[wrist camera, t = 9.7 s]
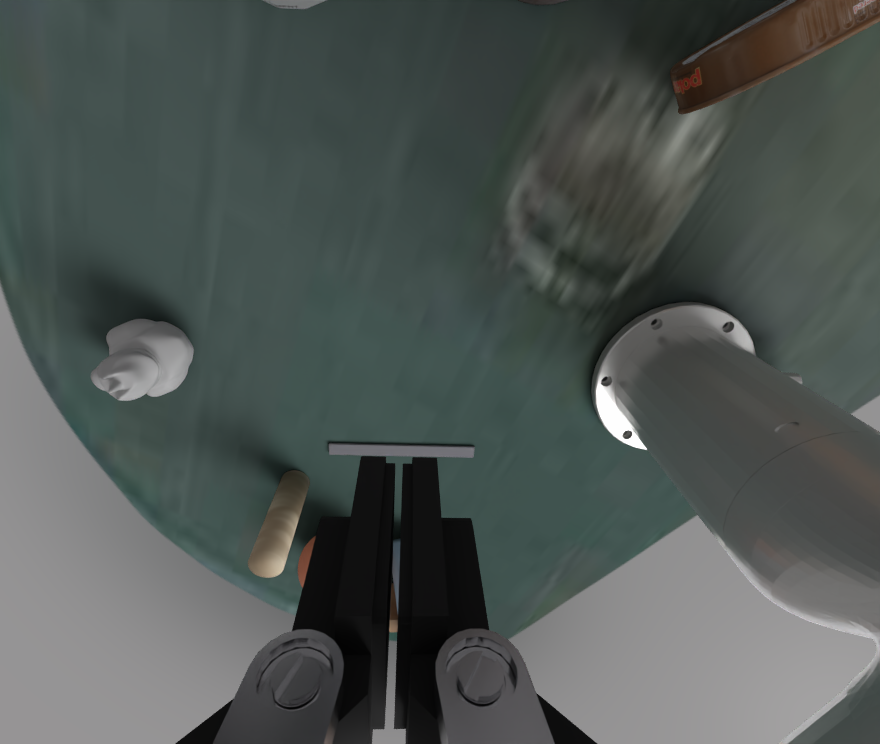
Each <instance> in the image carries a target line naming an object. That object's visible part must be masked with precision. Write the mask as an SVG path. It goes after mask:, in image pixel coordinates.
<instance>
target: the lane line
mask: <svg viewBox="0 0 880 744" xmlns="http://www.w3.org/2000/svg"><path fill="white" fill-rule="evenodd" d="M329 455H375V456H424V457H472V458H473V457H474V446H441V445H396V444H351V443H329Z"/></svg>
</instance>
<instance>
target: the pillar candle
mask: <svg viewBox="0 0 880 744" xmlns="http://www.w3.org/2000/svg"><path fill="white" fill-rule="evenodd" d="M518 1H521V2H524V3H529V4H535V5H550V4H557V3H560V2H564V1H567V0H518Z"/></svg>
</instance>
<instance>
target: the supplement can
mask: <svg viewBox="0 0 880 744" xmlns="http://www.w3.org/2000/svg"><path fill="white" fill-rule="evenodd" d="M262 1H265V2H267V3H269V4H271V5H273V6H275V7H278V8H288V9H307V8H310V7H312V6H314V5H317V4H319V3H322V2H324V1H326V0H262Z"/></svg>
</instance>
